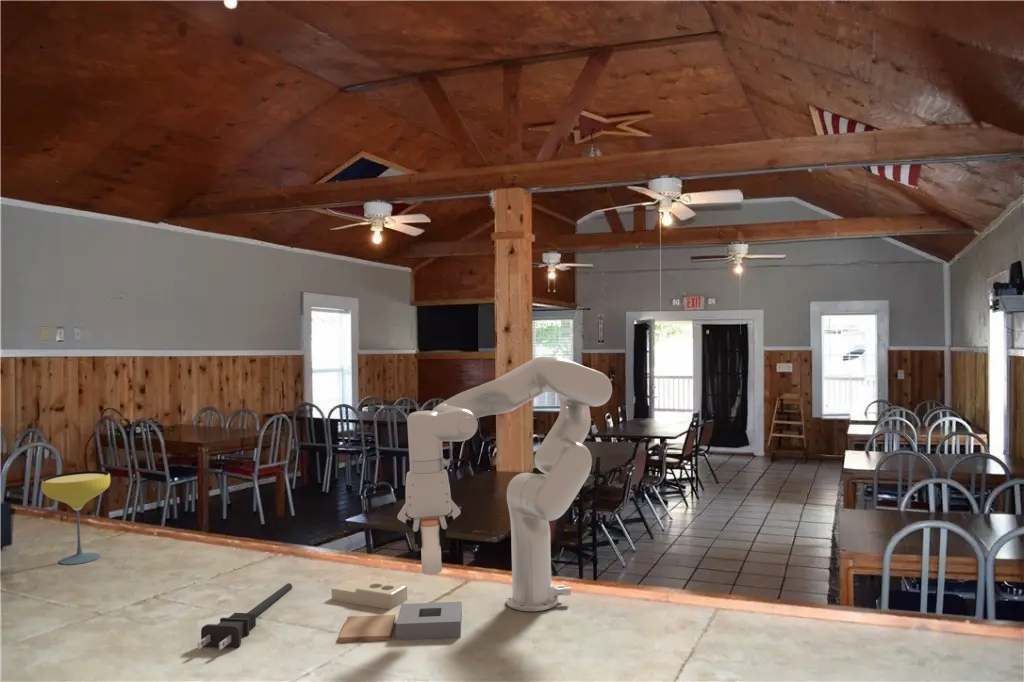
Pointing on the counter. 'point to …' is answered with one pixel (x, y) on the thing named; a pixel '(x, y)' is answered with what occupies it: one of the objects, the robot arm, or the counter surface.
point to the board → (367, 628)
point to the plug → (430, 545)
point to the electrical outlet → (371, 593)
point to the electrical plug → (236, 625)
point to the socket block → (429, 620)
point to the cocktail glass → (76, 500)
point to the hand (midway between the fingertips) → (430, 545)
